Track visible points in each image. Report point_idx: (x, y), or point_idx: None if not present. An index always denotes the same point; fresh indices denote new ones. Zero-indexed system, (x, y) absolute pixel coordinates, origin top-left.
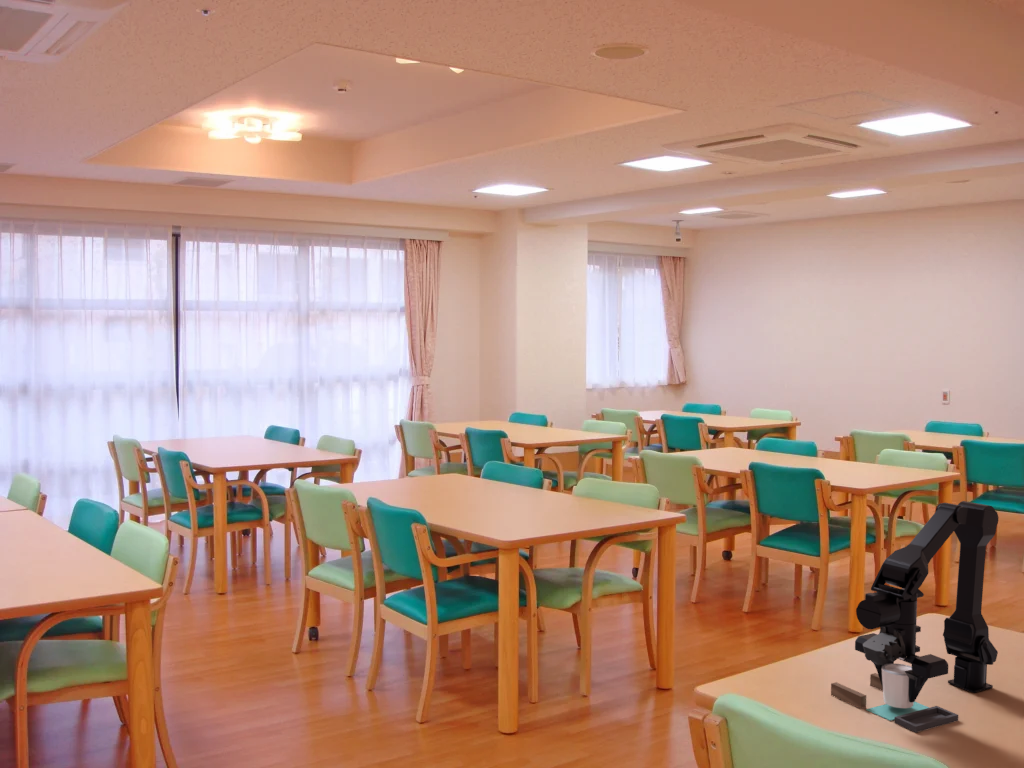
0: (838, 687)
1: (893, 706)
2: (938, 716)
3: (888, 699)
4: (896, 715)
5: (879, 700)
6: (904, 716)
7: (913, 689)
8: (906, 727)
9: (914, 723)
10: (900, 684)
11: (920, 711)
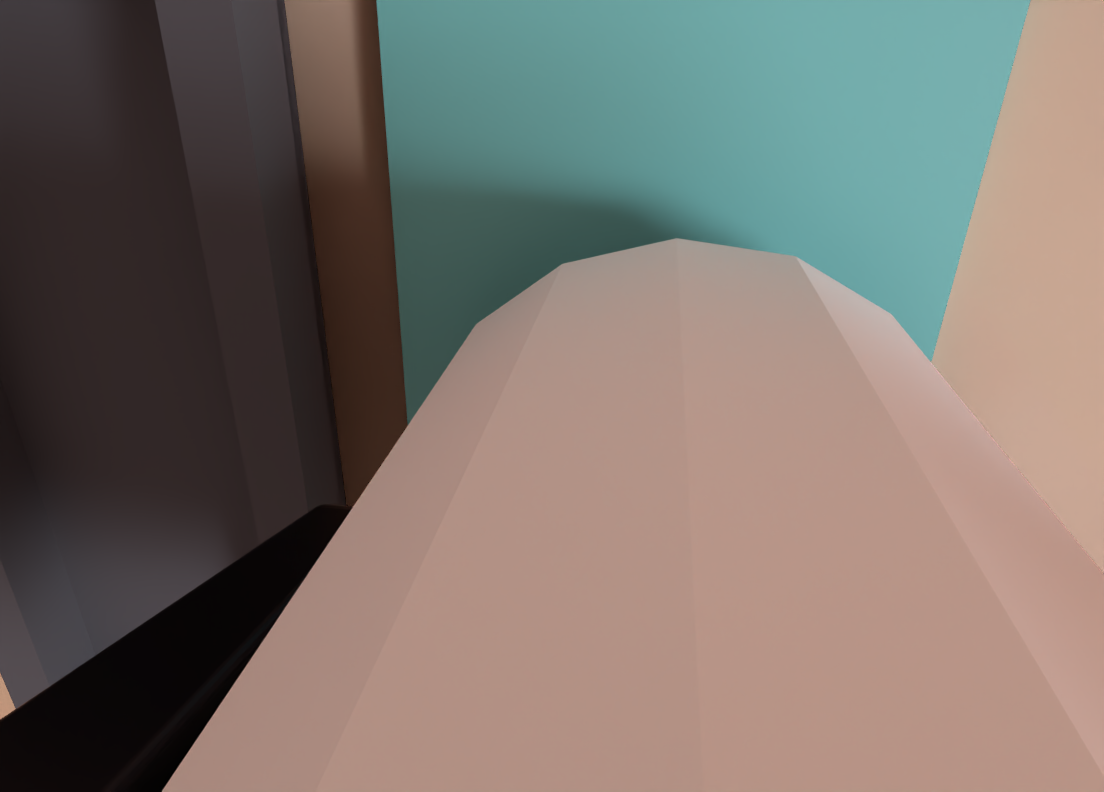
0: None
1: (595, 258)
2: None
3: (717, 284)
4: (483, 154)
5: (1100, 474)
6: (168, 64)
7: (15, 718)
8: None
9: (87, 134)
10: (272, 674)
11: (266, 490)
